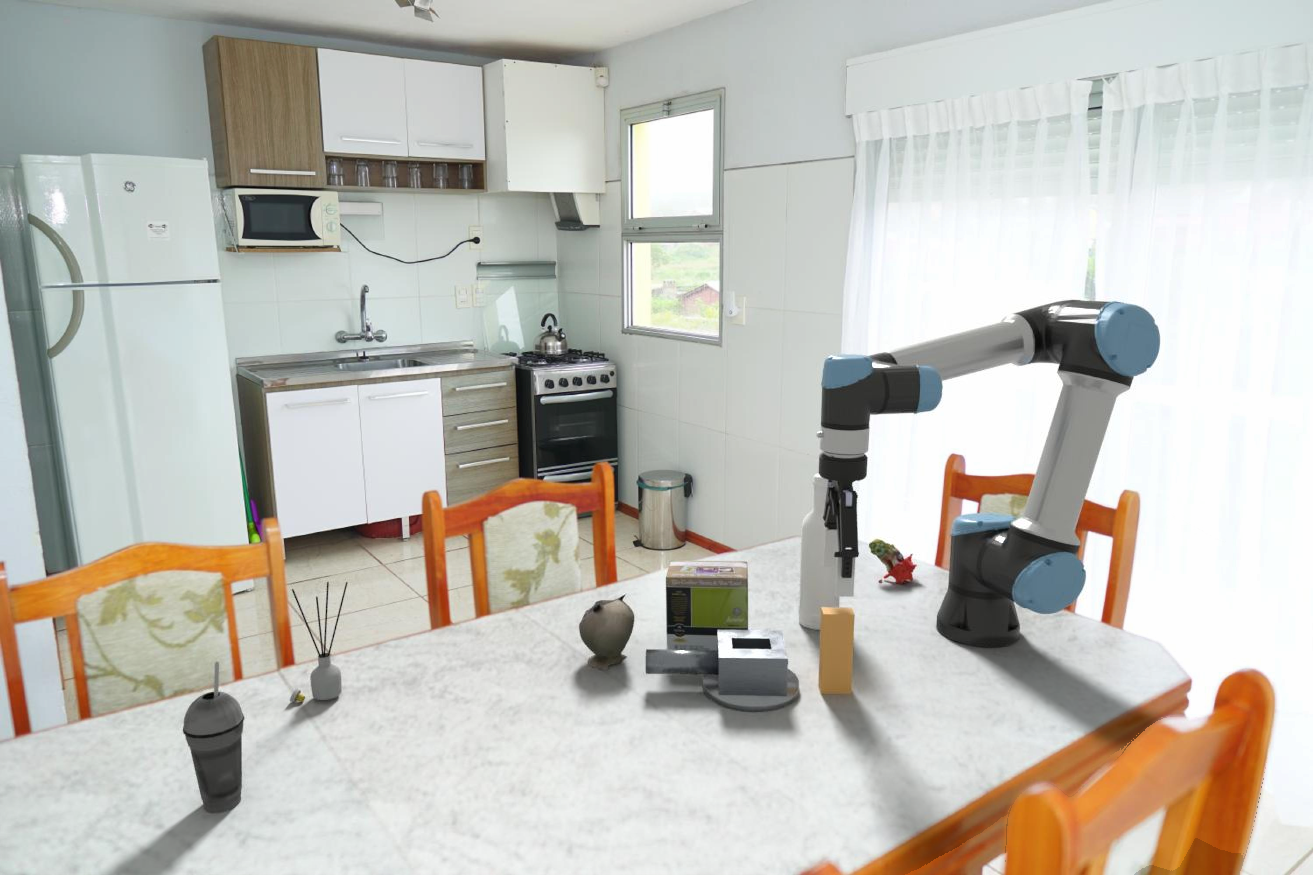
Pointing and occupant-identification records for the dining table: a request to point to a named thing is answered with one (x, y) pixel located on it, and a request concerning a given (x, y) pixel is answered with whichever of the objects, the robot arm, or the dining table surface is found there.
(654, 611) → the dining table surface
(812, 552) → the bottle
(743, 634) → the bracket head
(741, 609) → the tea box
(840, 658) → the tan wooden beam
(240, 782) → the beverage cup
